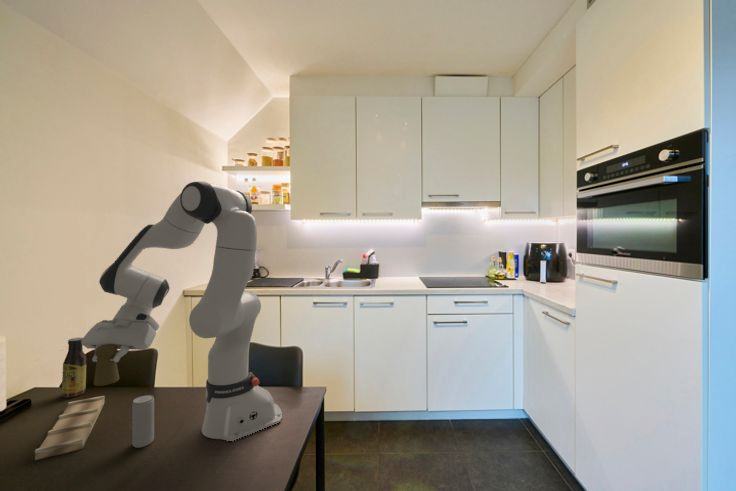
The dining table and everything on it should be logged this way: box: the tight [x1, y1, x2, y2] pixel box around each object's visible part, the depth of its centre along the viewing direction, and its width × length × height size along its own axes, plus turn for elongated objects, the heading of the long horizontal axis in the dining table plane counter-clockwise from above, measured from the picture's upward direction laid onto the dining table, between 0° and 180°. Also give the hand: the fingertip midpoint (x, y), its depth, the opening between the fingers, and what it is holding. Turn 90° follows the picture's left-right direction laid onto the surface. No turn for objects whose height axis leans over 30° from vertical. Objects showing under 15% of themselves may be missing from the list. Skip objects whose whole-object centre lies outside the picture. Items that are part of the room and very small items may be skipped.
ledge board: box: [34, 395, 106, 461], centre depth 94 cm, size 9×28×2 cm, turn 30°
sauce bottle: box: [61, 337, 87, 399], centre depth 114 cm, size 6×6×20 cm
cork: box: [93, 344, 120, 387], centre depth 97 cm, size 6×6×11 cm
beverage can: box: [131, 394, 155, 449], centre depth 87 cm, size 5×5×12 cm
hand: (104, 361), depth 96 cm, fingers closed on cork, 4 cm apart
